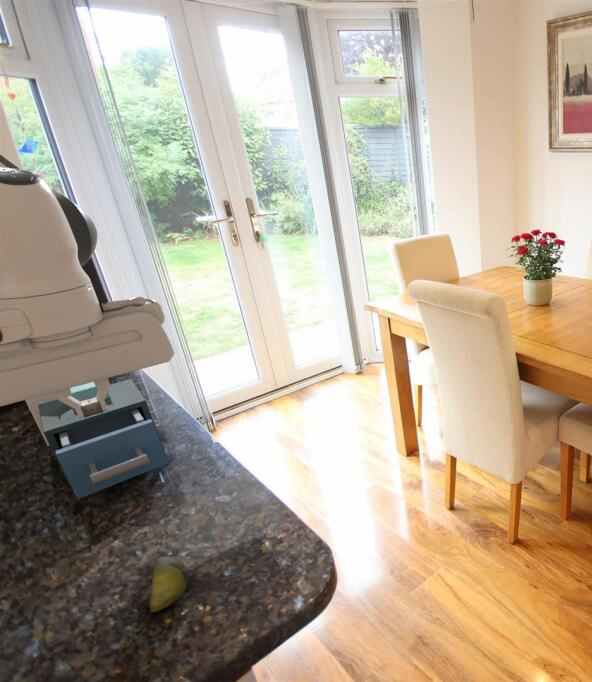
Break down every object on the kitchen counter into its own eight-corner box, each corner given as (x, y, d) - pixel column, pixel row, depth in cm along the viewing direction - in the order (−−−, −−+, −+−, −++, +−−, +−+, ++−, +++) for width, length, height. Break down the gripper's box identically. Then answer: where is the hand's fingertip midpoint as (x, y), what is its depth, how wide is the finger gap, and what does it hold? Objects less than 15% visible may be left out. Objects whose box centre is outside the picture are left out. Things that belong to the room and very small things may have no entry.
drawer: (176, 477, 66) (160, 433, 63) (82, 516, 59) (59, 470, 56) (152, 437, 76) (137, 398, 73) (69, 467, 69) (49, 426, 66)
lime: (162, 625, 46) (145, 589, 44) (132, 609, 48) (115, 573, 46) (204, 589, 50) (191, 554, 48) (175, 575, 51) (161, 541, 49)
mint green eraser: (110, 397, 72) (104, 383, 71) (73, 408, 69) (66, 394, 68) (106, 390, 74) (101, 377, 73) (70, 401, 71) (64, 387, 70)
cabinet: (164, 449, 74) (145, 400, 71) (69, 485, 67) (43, 432, 63) (148, 424, 82) (131, 378, 78) (61, 454, 74) (37, 404, 71)
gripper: (151, 289, 63) (180, 379, 69) (-77, 329, 50) (-19, 437, 55) (162, 297, 59) (192, 392, 65) (-83, 343, 46) (-20, 458, 51)
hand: (93, 413), depth 60 cm, fingers closed
